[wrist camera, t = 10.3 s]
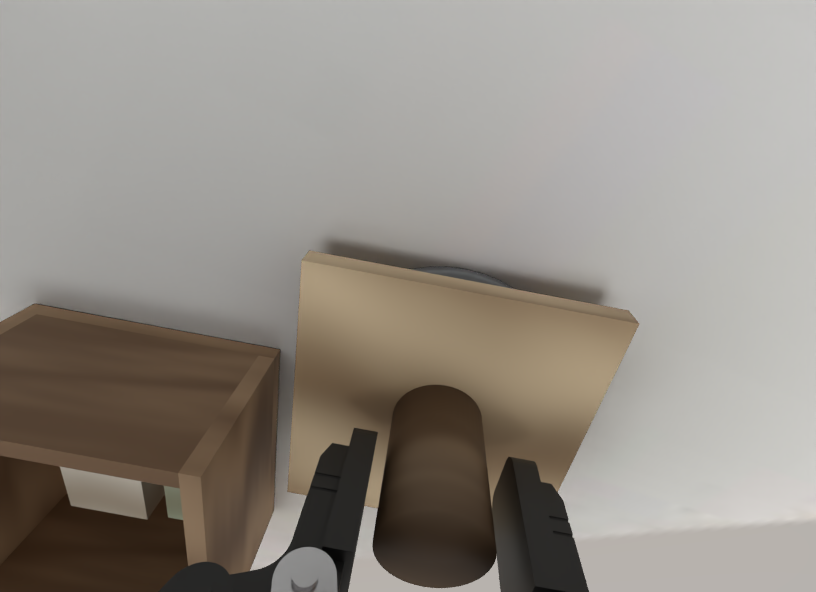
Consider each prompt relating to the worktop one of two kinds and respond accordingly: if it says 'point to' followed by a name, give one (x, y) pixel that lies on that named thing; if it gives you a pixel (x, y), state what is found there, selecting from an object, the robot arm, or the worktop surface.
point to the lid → (443, 398)
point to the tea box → (129, 452)
